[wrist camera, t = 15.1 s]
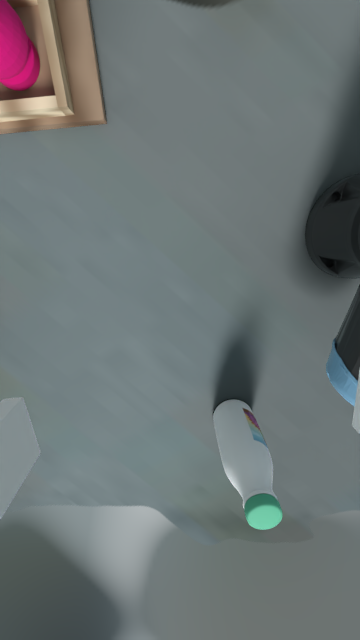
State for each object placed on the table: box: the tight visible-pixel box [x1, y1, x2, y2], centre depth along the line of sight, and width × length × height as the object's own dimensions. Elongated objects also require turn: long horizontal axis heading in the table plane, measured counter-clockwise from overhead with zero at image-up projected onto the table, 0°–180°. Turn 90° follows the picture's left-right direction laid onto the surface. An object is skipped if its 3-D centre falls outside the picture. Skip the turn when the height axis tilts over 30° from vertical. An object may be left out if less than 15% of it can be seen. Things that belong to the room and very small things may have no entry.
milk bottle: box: [213, 399, 282, 530], centre depth 43 cm, size 8×8×20 cm
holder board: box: [0, 0, 107, 134], centre depth 33 cm, size 20×14×4 cm
